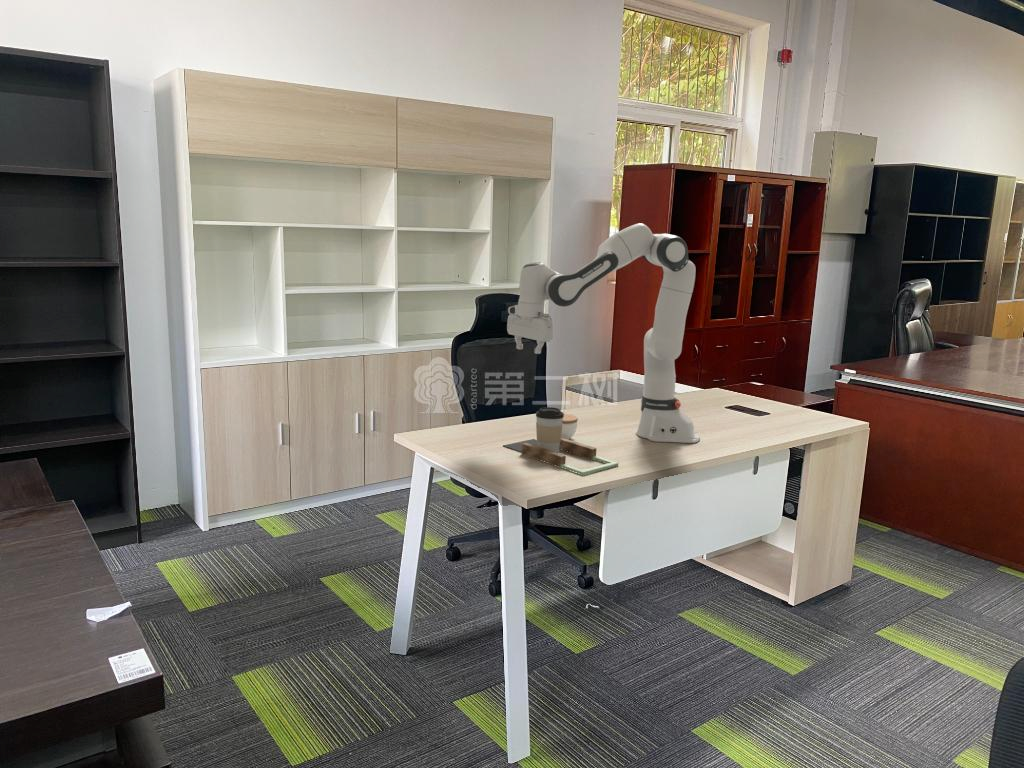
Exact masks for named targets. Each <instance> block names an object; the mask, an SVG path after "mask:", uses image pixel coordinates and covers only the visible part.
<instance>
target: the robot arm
mask: <svg viewBox="0 0 1024 768" xmlns="http://www.w3.org/2000/svg"><path fill="white" fill-rule="evenodd" d="M688 250H689V249H688V245H687V243H686V241H685V240H684V239H683V238H682V237H681V236H678V235H676V234H669V233H653V232H652V230H651V228H649V226H647V225H646V224H645V223H640V222H639V223H635V224H632V225H630V226H628V227H625V228H623V229H621V230H620V231H617V232H616V233H614V234H612V235H611V236H609V237H608V238H607V239H605V240H604V241H602V243H600V244H599V246H598V248H597V254H596V257H595V258H594V259H593V260H592V261H591V262H589V263H587V264H586V265H584V266H583V267H581V268H580V269H578V270H577V271H575V272H573V273H570V274H564V273H563V274H562V273H559V272H558V271H556V270H554V269H552V268H551V267H548V265H546V264H545V262H540V261H539V262H531V263H527V264H526V263H525V265H523V266H522V268H521V270H520V276H519V286H518V290H519V298H518V301H517V304H515V305H512V306H509V307H508V309H507V311H508V314H509V315H508V316H507V321H506V322H507V324H506V331H507V334H508V335H512V336H514V341H515V343H516V349H517V350H523V349H524V343H523V342H522V338H525V339H528V340H533V341H536V344H537V345H536V347H534V354H536V355H539V354H541V353H542V348H543V346H544V345H545V343H547V342H548V343H549V342H552V340H553V338H554V331H553V330H554V329H553V327H554V326H553V319H552V317H551V316H550V314H548V313H545V301H546V300H549V301H551V302H553V303H554V304H555V305H557V306H559V307H563V308H564V307H569V306H571V305H573V304H574V303H576V302H577V301H578V299H580V296H581V295H582V293H584V292H585V290H586V289H588V288H589V287H591V286H592V285H594V284H595V283H596V282H598V281H600V280H601V279H602V278H604V277H605V276H607V275H609V274H612V273H613V272H615V271H617V270H619V269H621V268H623V267H626V266H628V265H629V264H631V263H632V262H633V261H635V260H636V259H638V258H640V257H642V258H643V259H644V260H645V261H646V262H647V263H649V264H651V265H655V266H658V267H662V271H663V276H662V277H663V278H662V281H661V285H660V288H659V293H658V297H657V301H656V304H655V308H654V317H653V318H654V319H653V325H652V326H653V327H651V328H650V329H649V330H647V331H646V333H645V335H644V338H643V367H644V368H643V369H644V376H643V378H644V379H643V391H642V392H643V395H642V396H641V400H640V411H641V413H640V414H641V415H640V419H639V424H638V426H637V430H636V432H635V433H636V435H637V436H638V437H640V438H645V439H647V440H649V441H651V442H660V443H661V442H664V443H665V442H666V443H687V444H688V443H689V444H695V443H698V442H699V441H700V440H701V438H700V434H699V432H696V431H695V426H694V422H693V420H692V418H691V417H689V416H688V414H686V413H685V412H684V411H682V409H680V407H681V405H682V403H681V401H680V399H679V398H676V397H675V392H676V381H677V380H676V377H677V374H676V366H675V364H676V363H675V361H676V359H678V358H679V357H680V355H681V354H682V350H683V340H684V335H685V328H686V327H685V326H686V320H687V315H688V312H689V311H688V310H689V306H690V303H691V298H692V295H693V292H694V288H695V282H696V270H697V269H696V264H694V262H693V261H691V260H690V258H689V251H688Z"/></svg>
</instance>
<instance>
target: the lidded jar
mask: <svg viewBox="0 0 1024 768" xmlns="http://www.w3.org/2000/svg"><path fill="white" fill-rule="evenodd" d="M563 416H564V417H563V420H562V433H561V437H562V438H565V439H568V440H569V439H570V440H571V438H572V437H573V436H574V435H575V434H576V430H577V428H578V417H577V416H576V415H572V414H568V413H565V412H564V411H563Z"/></svg>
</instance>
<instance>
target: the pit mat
mask: <svg viewBox="0 0 1024 768" xmlns="http://www.w3.org/2000/svg"><path fill="white" fill-rule="evenodd" d="M523 443H529V444H532V445H535V446H537V439H535V438H531V439H527V440H522V441H518V442H514V443H513V442H512V443H508V444H503V445H502V447H504V448H506V449H509V448H510V450H512V449H513V451H515V450H516V452H518V451H519V452H518V453H522V444H523Z"/></svg>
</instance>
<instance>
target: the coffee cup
mask: <svg viewBox="0 0 1024 768" xmlns="http://www.w3.org/2000/svg"><path fill="white" fill-rule="evenodd" d="M563 412H564V411H563ZM563 412H562V411H561V409H560V408H558V407H549V406H548V407H547V406H546V407H541V408H539V409H538V410H537V411H536V412H535V416H536V417H535V419H536V422H535V426H536V427H535V428H536V440H537V446H538V447H541V448H544V449H547V450H550V451H553V452H556V453H559V454H560V449H559V446H560V441H561V433H562V420H563V417H564V416H563Z"/></svg>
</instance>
